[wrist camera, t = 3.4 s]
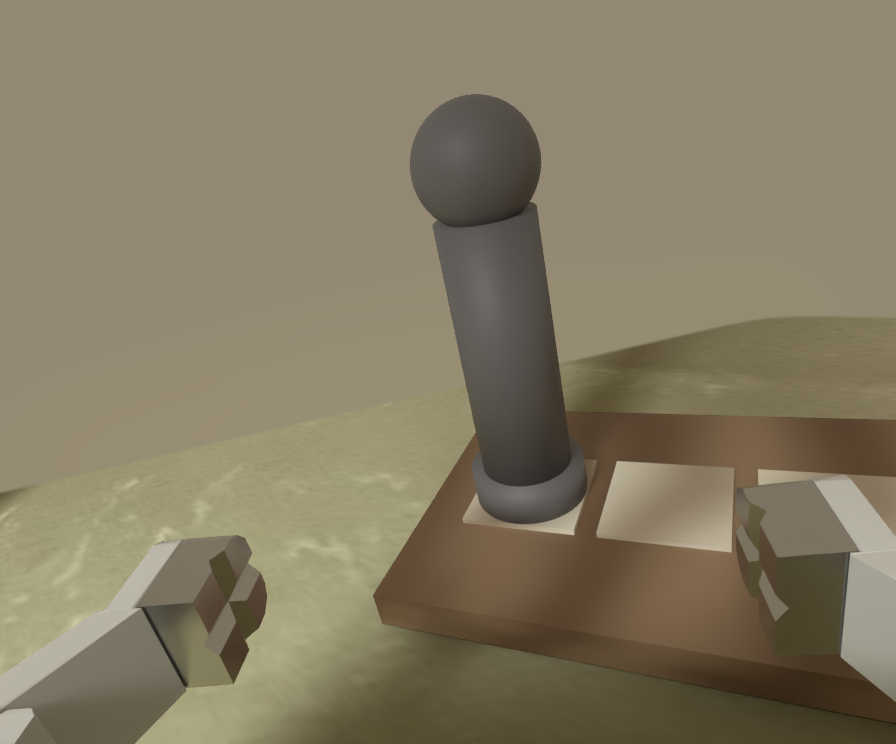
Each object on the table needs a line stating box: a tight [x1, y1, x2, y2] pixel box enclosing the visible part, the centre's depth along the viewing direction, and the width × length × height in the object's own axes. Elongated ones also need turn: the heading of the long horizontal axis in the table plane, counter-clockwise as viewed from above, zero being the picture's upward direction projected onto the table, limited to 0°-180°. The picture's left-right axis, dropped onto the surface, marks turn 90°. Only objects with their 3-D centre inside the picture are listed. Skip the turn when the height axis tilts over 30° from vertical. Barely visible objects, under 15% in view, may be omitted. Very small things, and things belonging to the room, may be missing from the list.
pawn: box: [410, 94, 587, 524], centre depth 20 cm, size 4×4×13 cm
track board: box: [373, 411, 896, 723], centre depth 19 cm, size 25×11×1 cm, turn 68°
